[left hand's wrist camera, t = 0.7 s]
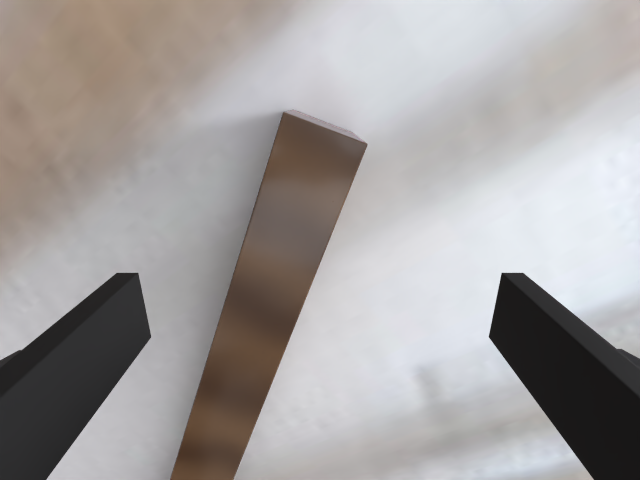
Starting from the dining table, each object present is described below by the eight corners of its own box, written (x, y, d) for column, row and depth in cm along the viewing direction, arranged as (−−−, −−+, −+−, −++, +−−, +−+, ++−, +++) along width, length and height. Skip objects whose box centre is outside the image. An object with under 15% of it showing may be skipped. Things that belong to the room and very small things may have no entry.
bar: (292, 109, 27) (283, 111, 19) (353, 132, 27) (368, 143, 20) (141, 585, 49) (109, 675, 41) (177, 592, 50) (152, 681, 42)
